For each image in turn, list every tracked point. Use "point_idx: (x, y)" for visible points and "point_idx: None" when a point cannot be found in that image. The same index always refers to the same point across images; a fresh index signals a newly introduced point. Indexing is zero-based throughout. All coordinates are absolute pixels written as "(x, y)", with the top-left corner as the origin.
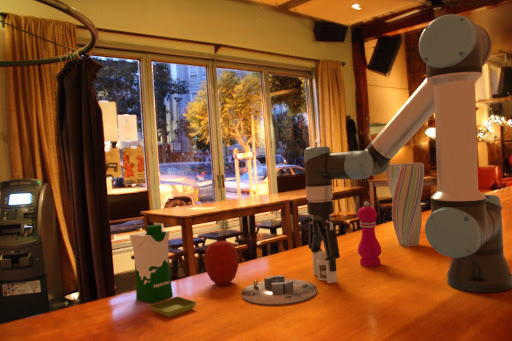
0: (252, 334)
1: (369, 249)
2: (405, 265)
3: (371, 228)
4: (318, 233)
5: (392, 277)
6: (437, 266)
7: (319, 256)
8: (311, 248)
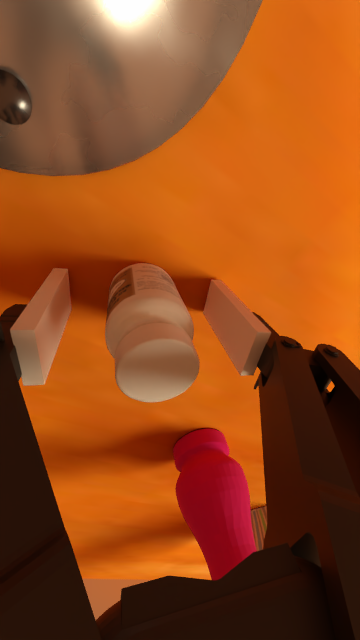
0: None
1: (188, 495)
2: (136, 488)
3: None
4: (288, 515)
5: (43, 451)
6: (90, 521)
7: (144, 328)
8: (299, 350)
